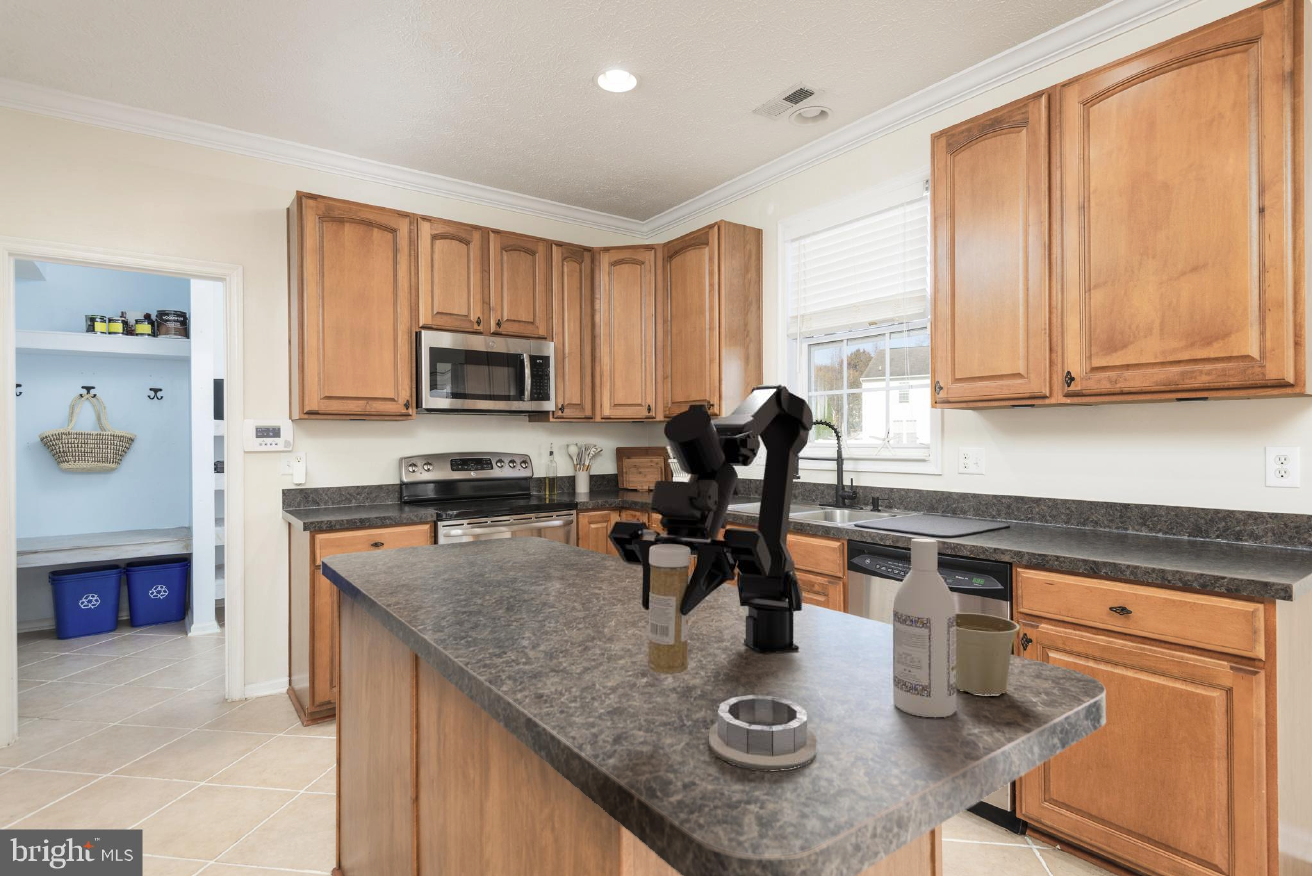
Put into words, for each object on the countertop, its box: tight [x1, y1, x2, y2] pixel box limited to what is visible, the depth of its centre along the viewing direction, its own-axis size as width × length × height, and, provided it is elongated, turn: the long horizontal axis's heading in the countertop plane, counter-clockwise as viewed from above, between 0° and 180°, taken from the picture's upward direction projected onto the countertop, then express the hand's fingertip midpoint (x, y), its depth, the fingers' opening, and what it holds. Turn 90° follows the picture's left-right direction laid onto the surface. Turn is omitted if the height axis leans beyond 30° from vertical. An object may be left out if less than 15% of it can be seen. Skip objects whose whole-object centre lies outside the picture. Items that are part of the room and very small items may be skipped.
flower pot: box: [956, 612, 1021, 695], centre depth 85 cm, size 9×9×9 cm
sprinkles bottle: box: [647, 544, 692, 675], centre depth 73 cm, size 5×5×14 cm
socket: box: [708, 694, 818, 772], centre depth 69 cm, size 11×11×4 cm
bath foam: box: [892, 538, 957, 719], centre depth 79 cm, size 7×7×20 cm
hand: (663, 610), depth 72 cm, fingers closed on sprinkles bottle, 4 cm apart
